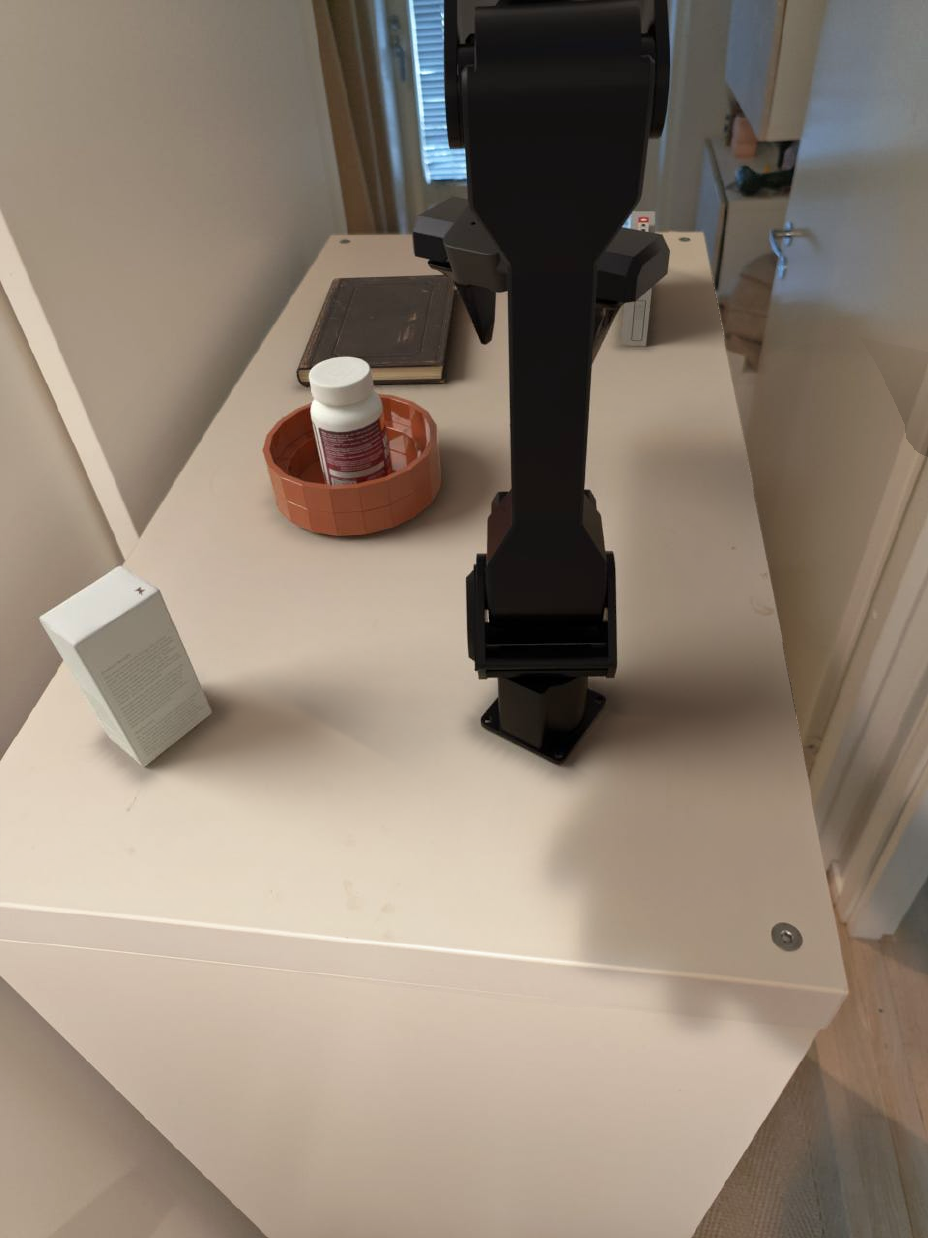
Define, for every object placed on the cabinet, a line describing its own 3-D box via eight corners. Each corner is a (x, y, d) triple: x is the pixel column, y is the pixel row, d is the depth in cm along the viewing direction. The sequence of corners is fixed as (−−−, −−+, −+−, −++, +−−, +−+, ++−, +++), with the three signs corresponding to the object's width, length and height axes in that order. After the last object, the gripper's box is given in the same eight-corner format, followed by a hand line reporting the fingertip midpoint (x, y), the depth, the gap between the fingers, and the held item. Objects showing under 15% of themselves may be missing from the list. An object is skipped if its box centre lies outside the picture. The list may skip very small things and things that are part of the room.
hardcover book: (457, 291, 107) (456, 273, 106) (444, 383, 91) (443, 363, 89) (333, 295, 109) (330, 277, 107) (298, 386, 92) (294, 367, 91)
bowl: (371, 562, 70) (362, 509, 67) (242, 506, 77) (226, 455, 73) (473, 471, 79) (470, 419, 75) (349, 427, 86) (340, 378, 82)
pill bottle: (405, 487, 77) (391, 373, 69) (345, 513, 74) (323, 397, 67) (372, 457, 81) (355, 345, 73) (314, 480, 78) (290, 368, 70)
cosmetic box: (177, 686, 62) (122, 561, 53) (214, 714, 60) (162, 588, 51) (106, 740, 58) (35, 616, 50) (142, 771, 56) (74, 647, 48)
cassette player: (625, 286, 106) (632, 202, 99) (647, 286, 105) (656, 202, 98) (621, 345, 95) (628, 255, 88) (645, 346, 95) (655, 255, 88)
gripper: (351, 155, 56) (380, 371, 67) (603, 196, 48) (590, 435, 59) (448, 111, 62) (460, 315, 73) (685, 141, 54) (659, 366, 65)
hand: (534, 355), depth 67 cm, fingers open, 9 cm apart
